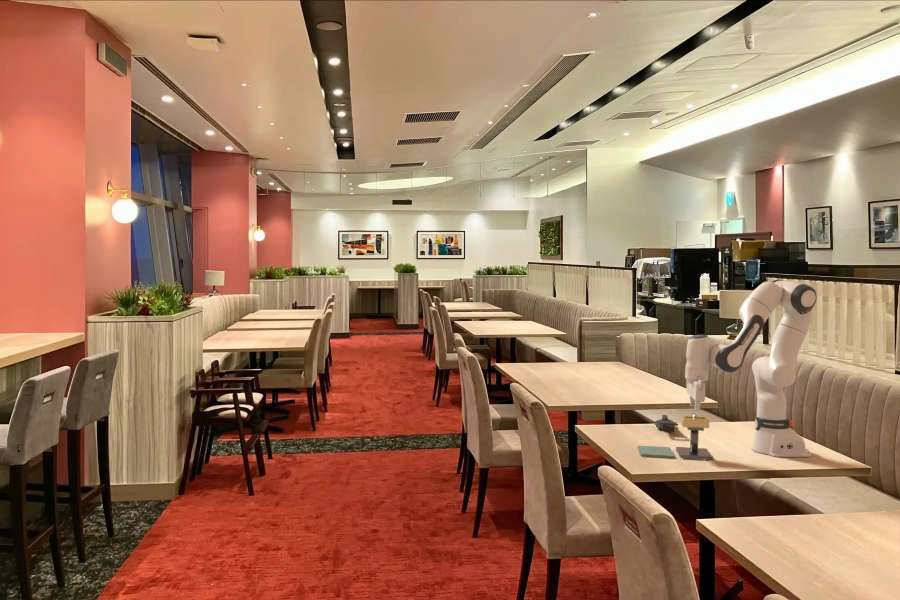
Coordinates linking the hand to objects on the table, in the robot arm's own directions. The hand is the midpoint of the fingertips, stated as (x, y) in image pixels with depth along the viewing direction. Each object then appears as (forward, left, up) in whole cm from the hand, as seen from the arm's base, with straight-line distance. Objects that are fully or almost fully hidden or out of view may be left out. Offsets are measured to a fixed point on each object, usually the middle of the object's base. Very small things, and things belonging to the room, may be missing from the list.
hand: (694, 408), depth 277 cm
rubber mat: (+15, 0, -19) cm, 24 cm away
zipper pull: (+5, -40, -20) cm, 44 cm away
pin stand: (0, 0, -19) cm, 19 cm away
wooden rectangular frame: (0, 0, -7) cm, 7 cm away
